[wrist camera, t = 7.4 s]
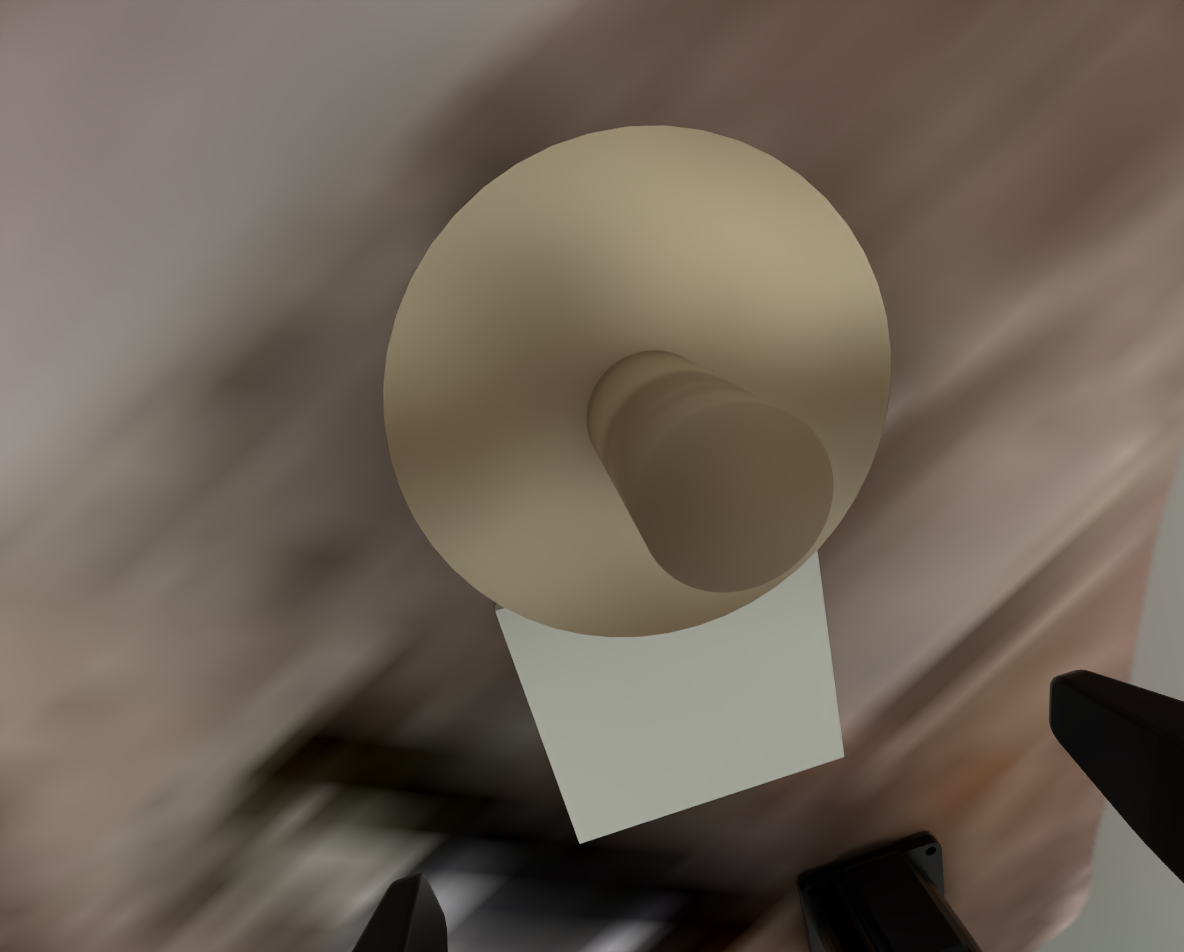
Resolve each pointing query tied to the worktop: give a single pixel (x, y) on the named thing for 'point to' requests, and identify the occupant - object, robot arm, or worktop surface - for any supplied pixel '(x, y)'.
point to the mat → (681, 706)
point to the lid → (637, 381)
